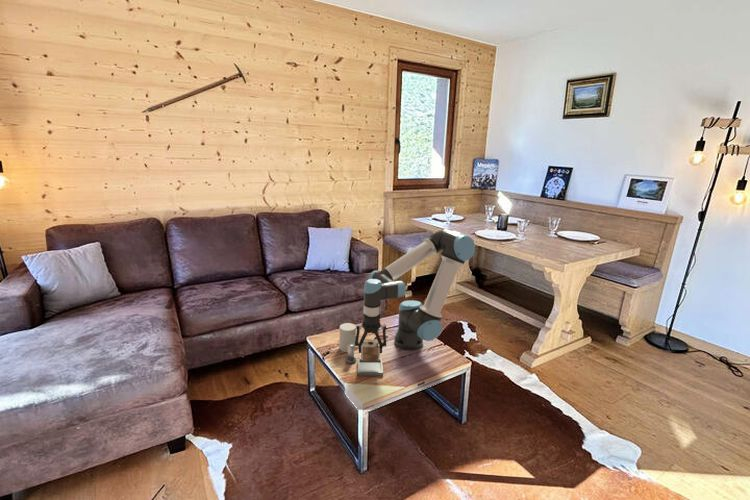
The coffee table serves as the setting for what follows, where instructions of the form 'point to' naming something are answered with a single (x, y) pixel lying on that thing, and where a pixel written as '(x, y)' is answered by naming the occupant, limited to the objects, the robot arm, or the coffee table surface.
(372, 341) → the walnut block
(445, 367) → the coffee table surface
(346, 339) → the cup
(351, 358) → the post
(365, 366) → the tray
